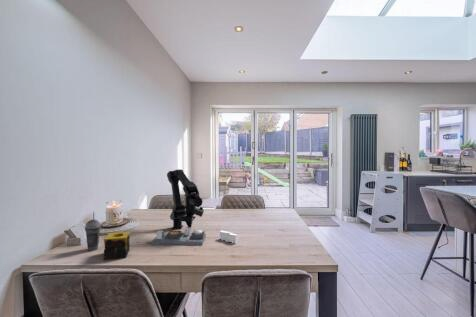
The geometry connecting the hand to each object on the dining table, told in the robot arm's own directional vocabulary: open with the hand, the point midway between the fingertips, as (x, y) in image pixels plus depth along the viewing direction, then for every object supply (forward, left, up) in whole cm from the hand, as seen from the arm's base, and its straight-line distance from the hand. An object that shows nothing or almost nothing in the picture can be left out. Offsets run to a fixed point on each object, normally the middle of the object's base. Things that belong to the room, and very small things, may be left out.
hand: (189, 228), depth 153 cm
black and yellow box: (+32, -29, -4) cm, 43 cm away
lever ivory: (+7, 0, -1) cm, 7 cm away
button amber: (+10, -7, -1) cm, 12 cm away
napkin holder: (+10, +25, -4) cm, 27 cm away
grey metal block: (+14, -14, -1) cm, 20 cm away
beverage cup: (+26, -45, -4) cm, 52 cm away
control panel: (+10, -3, -4) cm, 11 cm away
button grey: (+10, +7, 0) cm, 12 cm away
